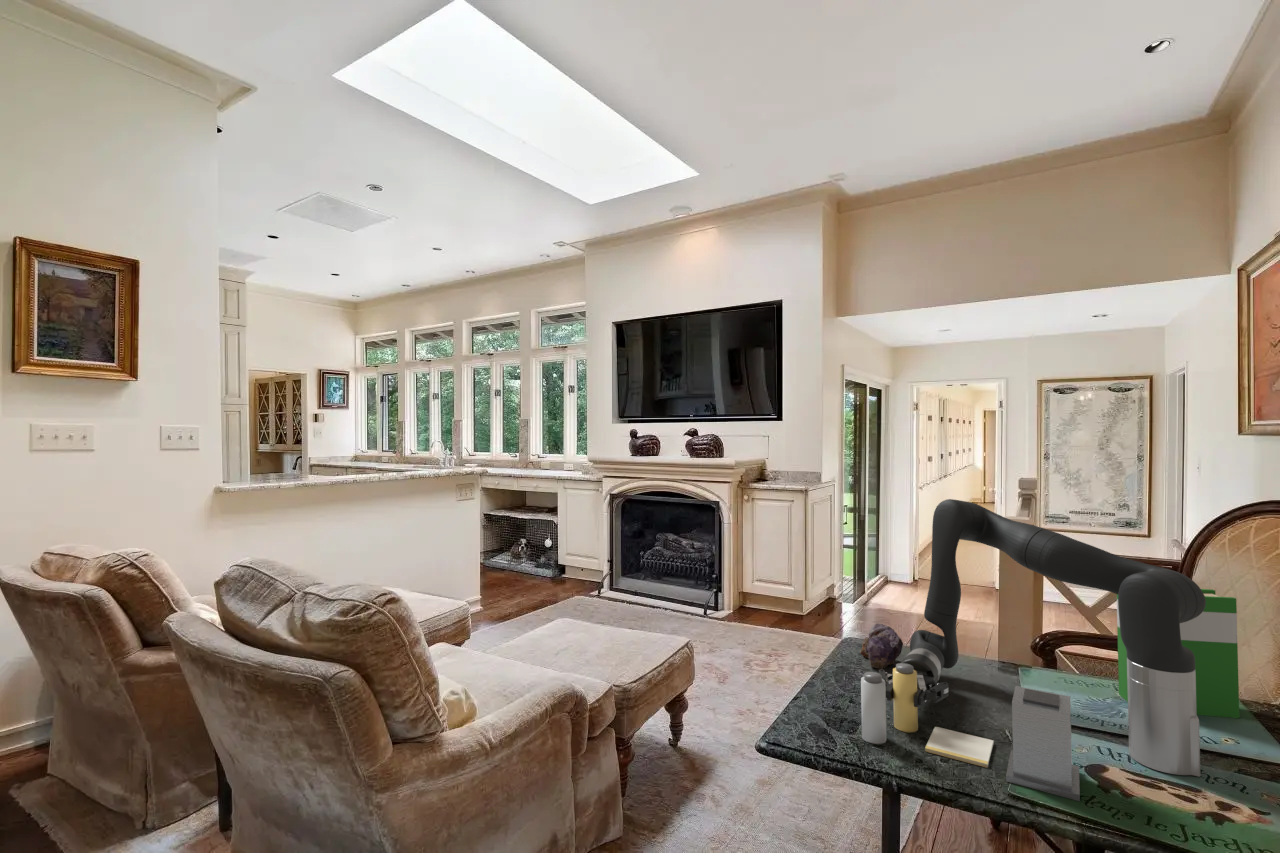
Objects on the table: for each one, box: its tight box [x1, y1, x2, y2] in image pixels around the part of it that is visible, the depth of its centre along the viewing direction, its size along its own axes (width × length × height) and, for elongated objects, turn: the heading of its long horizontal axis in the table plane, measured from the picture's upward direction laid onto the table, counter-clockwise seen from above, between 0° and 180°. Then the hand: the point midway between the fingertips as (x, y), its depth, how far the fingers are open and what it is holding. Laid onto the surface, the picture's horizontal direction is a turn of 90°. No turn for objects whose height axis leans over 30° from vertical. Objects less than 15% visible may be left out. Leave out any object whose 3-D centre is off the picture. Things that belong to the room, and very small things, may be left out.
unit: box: [1005, 685, 1081, 802], centre depth 104 cm, size 10×10×13 cm
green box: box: [1116, 588, 1240, 719], centre depth 130 cm, size 18×7×24 cm, turn 75°
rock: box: [859, 623, 904, 670], centre depth 156 cm, size 12×9×10 cm
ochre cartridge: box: [892, 662, 919, 733], centre depth 122 cm, size 4×4×12 cm
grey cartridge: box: [860, 671, 887, 745], centre depth 118 cm, size 4×4×12 cm
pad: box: [924, 726, 995, 769], centre depth 114 cm, size 10×10×1 cm
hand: (902, 698), depth 120 cm, fingers closed on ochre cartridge, 4 cm apart
